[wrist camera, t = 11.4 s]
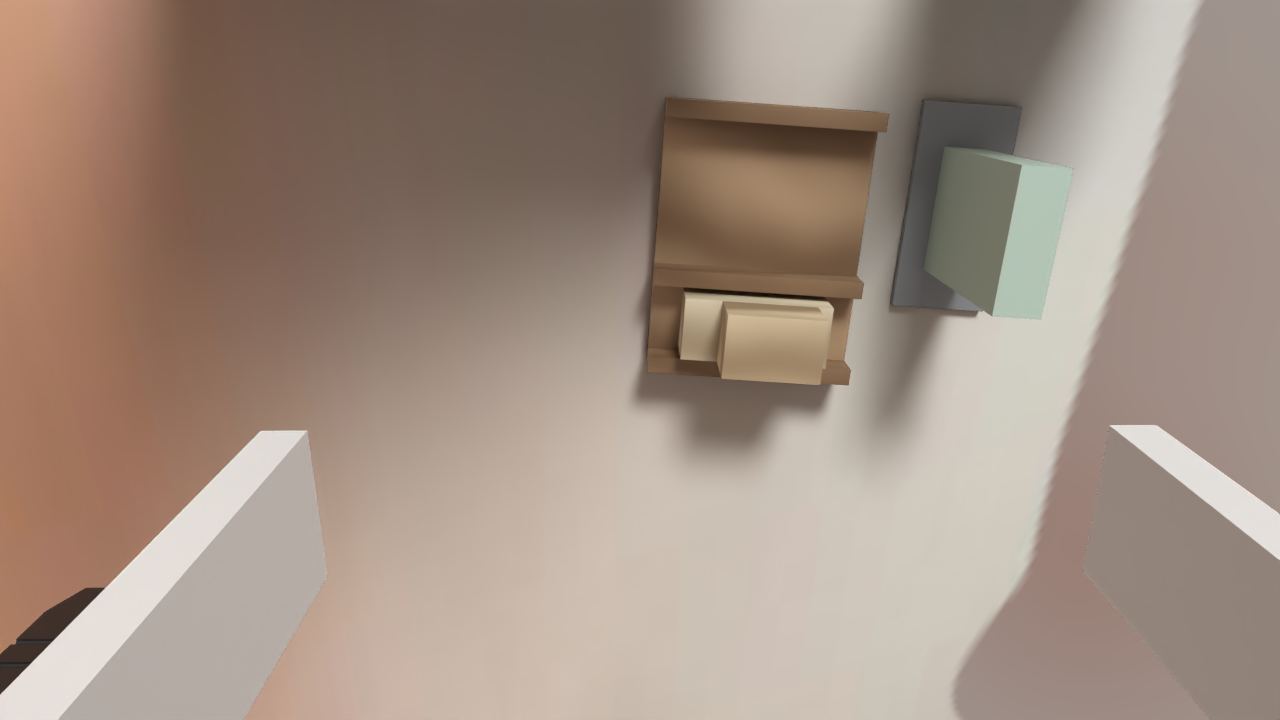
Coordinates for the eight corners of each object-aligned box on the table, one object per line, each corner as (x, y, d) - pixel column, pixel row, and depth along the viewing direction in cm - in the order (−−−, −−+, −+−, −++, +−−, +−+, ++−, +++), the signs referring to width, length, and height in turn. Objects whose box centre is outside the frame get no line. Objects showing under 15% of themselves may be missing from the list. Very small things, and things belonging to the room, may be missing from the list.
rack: (666, 96, 42) (668, 97, 40) (875, 111, 42) (889, 113, 40) (646, 356, 46) (647, 372, 44) (837, 369, 46) (848, 385, 44)
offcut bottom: (682, 286, 44) (685, 298, 42) (823, 295, 44) (834, 308, 42) (678, 344, 45) (680, 359, 42) (815, 353, 45) (825, 368, 43)
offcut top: (722, 300, 42) (728, 314, 39) (818, 307, 42) (829, 321, 39) (716, 361, 43) (721, 378, 40) (809, 367, 43) (820, 385, 40)
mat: (923, 99, 42) (925, 99, 42) (1018, 106, 42) (1022, 106, 42) (890, 303, 45) (892, 305, 45) (979, 309, 45) (982, 311, 45)
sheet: (944, 146, 42) (1022, 165, 34) (985, 149, 43) (1073, 168, 34) (923, 269, 44) (992, 316, 36) (963, 272, 44) (1041, 319, 36)
